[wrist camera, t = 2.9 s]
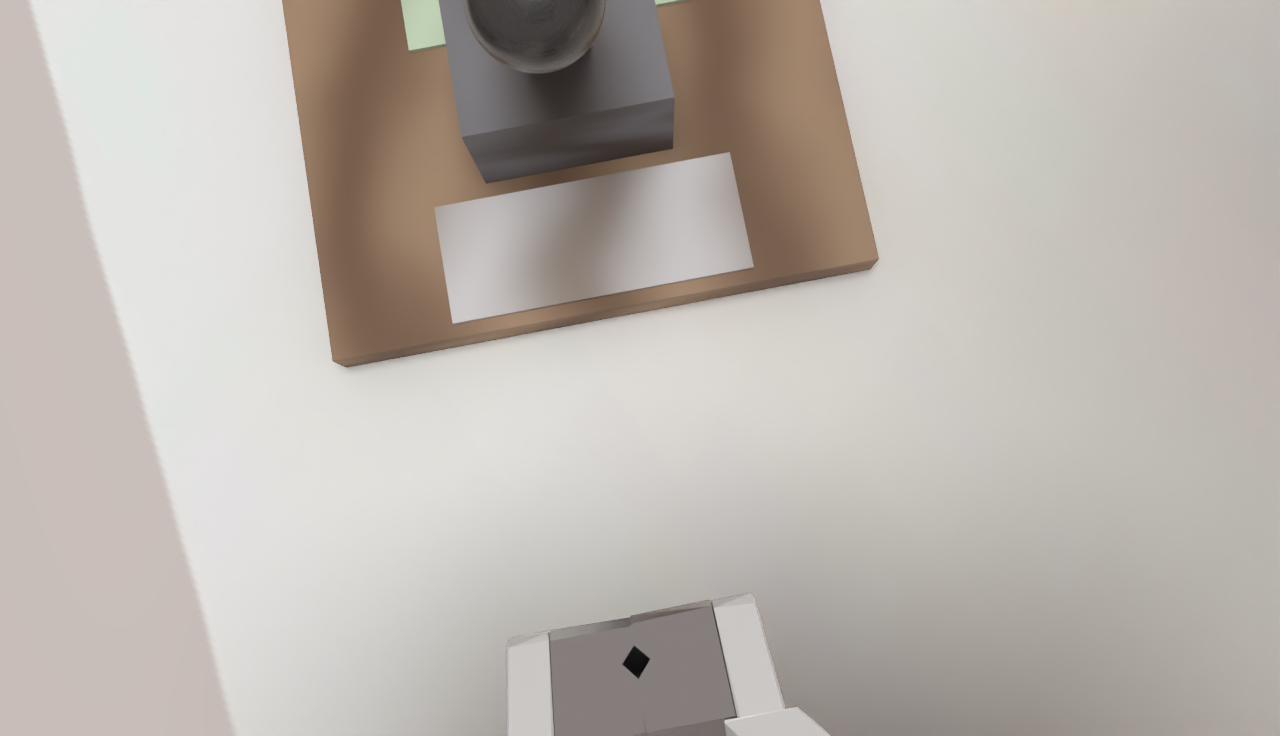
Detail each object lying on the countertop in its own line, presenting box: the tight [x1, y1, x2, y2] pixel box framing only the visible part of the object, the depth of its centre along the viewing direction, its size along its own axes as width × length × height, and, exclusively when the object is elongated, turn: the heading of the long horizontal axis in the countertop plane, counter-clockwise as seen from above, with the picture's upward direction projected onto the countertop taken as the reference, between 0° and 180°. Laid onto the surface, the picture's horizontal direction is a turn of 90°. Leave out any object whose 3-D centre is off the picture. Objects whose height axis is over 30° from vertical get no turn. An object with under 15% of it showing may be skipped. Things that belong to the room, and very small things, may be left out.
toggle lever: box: [463, 0, 606, 74], centre depth 25 cm, size 3×3×13 cm
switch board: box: [282, 0, 879, 367], centre depth 35 cm, size 20×16×6 cm
